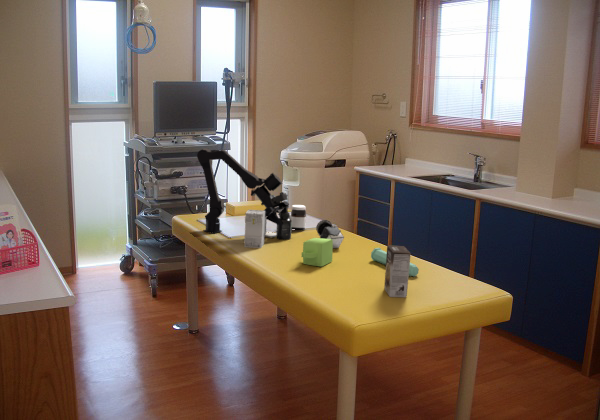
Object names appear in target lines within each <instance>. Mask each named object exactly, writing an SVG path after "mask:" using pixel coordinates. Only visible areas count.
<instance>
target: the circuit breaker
mask: <svg viewBox="0 0 600 420" xmlns="http://www.w3.org/2000/svg"><path fill="white" fill-rule="evenodd" d="M244 223H245V224H244V238H243V239H244V241H243V243H244V246H243V247H244V248H252V249H253V248H255V249H262V247H263V246H264V245H265V234H266V232H267V217H265V211H264V210H261V209H248V210H247V211H246V212H245V217H244Z"/></svg>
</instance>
